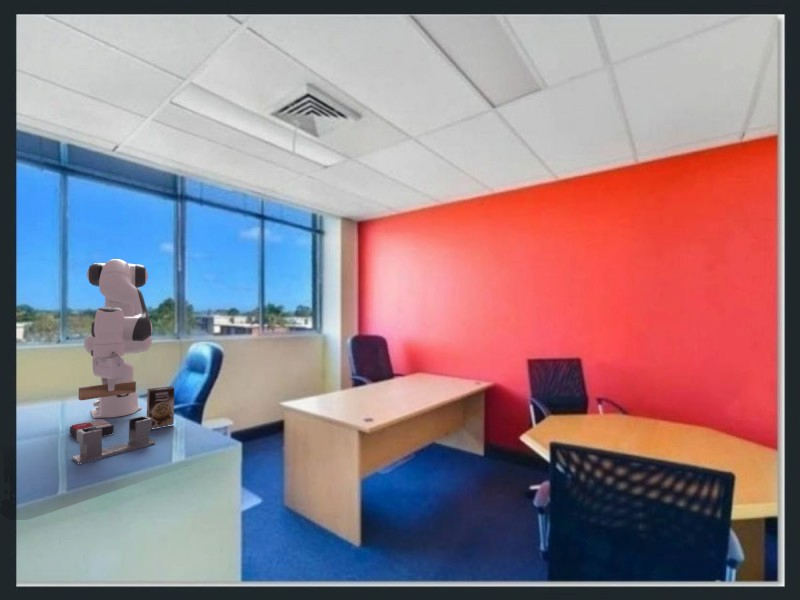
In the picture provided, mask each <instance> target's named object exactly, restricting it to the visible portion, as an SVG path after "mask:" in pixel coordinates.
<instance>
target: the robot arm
mask: <svg viewBox="0 0 800 600" xmlns="http://www.w3.org/2000/svg"><path fill="white" fill-rule="evenodd" d="M86 277H87V281H88V282H89V283H90V284H91V285H92V286H95V287H99V288H98V289H99V292H100V294H101V295H102V296H103V297H104V306H103V307H99V308H98V309H97V308H96V309H97V310H96V311H95V312H96V313H95V316H94V317H95V318H94V320H93V321H92V322H91V329H90V330H91V333H89V334H88V335H87V336H86V338H85V339H84V342H83V347H84V349H85V351H86V352H87V353H89V354H90V356H91V357H92V373H93V375H94V376H96V377H100V379H101V385H104V384H108V386H107V391H114V386H115V383H120V382H128V381H134V367H133V365H132V364H131V363H129V362H127V361H125V360H124V356H125V355H128V354H129V355H132V354H139V353H143V352H147V351H149V349H150V348H151V346H152V345H153V339H152V333H153V324H152V321H151V319H150V316H149V313H148V309H147V306H146V302H145V298H144V295H143V293H142V291H141V289H140V288H141V287H143V286H145V285H146V283H147V281H148V279H149V273H148V271H147V269H146V267H145V266H144V265H142V264H137V263H135V264H133V263H128V262H126V261H124V260H122V259H115V258H114V259H110V260H108V261H106V262H105V263H101V262H95V263H92V264H91V265H89V268H88V269H87V271H86ZM96 399H97V400H96V401H93V407H96V408H93V409H90V413H91V416H92V418H93V419H101V418H117V417H123V416H128V415H132V414H134V413H137V412H138V411H140V410H142V406H139V398H138V393H137V392H135V393H128V394H121V395H115V396H108V397H101V398H96Z"/></svg>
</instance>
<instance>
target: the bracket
mask: <svg viewBox="0 0 800 600" xmlns="http://www.w3.org/2000/svg"><path fill="white" fill-rule="evenodd" d="M151 428H152V418H149V417H147V415H142V416H138V417H132V418H129V419H128V442H124V443H120V444H116V445H112V446H108V447H104V448H103V437H102V429H99V430H96V426H93V427H88V428H84V429H79V430H77V441H78V442H77V441H76V442H77V443H80V446H79V454H76V455H73V456H71V457H72V458H71V460H72V459H73V460H72V461H74V460H75V461H76V462H77V463H79V464H78V465H81V464H80V463H83V464H85V463H84V462H87V463H89V462H88V461H91V460H94V461H96V460H95V459H98V460H100V459H99V458H102V459H105V458H109V457H112V455H113V456H116V455H120V454H123V452H124V453H127V452H126V451H128V452H131V451H134V449H135V450H139V449H141V448H146V447H148V445H150V446H152V445H151V444H154V445H156V441H155V440H154V439H152V438H150V430H149V429H151ZM145 446H146V447H145ZM138 448H139V449H138ZM130 450H131V451H130ZM119 453H120V454H119ZM108 456H109V457H108ZM104 457H105V458H104ZM75 461H74V462H75ZM76 462H75V463H76ZM91 462H92V461H91ZM77 463H76V464H77Z"/></svg>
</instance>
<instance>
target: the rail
mask: <svg viewBox="0 0 800 600" xmlns="http://www.w3.org/2000/svg"><path fill="white" fill-rule="evenodd" d="M107 386H108V384H104V385H102V384H98V385H97V384H96V385H89V386H84V387H83V386H82V387H78V400H80V401H86V400H93V399H98V398H101V397H108V396H115V395H121V394H128V393H135V392H136V391H137V381H134V380H133V381H128V382H120V383H115V386H114V391H107ZM136 393H137V392H136Z"/></svg>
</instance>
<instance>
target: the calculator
mask: <svg viewBox="0 0 800 600" xmlns="http://www.w3.org/2000/svg"><path fill="white" fill-rule="evenodd" d="M93 426H96V430H99V429H102V436H103V437H105V436H104V435H108V436H110V435H109V434H112V433H113V434H114V425H113V424H111V423H109V421H106V420H104V419H97V420H93V421H88V422H82V423H76V424H71V426H70V427H69V434H70V433H71V434H72V435H71V434H70V435H71V436H72V437H73V438H74V439H76V440H77V430H79V429H84V428H88V427H93ZM113 434H112V435H113ZM76 440H75V441H76Z"/></svg>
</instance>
